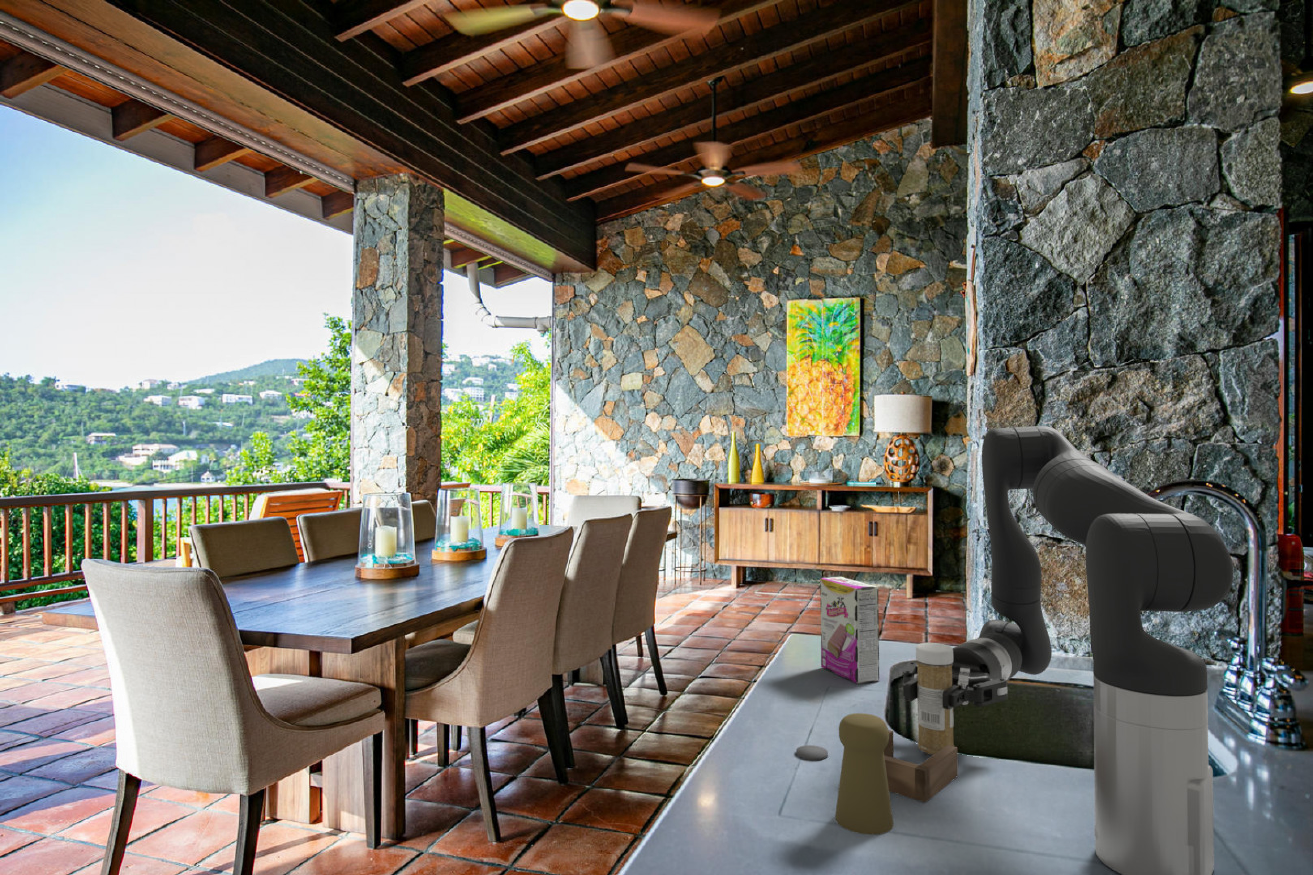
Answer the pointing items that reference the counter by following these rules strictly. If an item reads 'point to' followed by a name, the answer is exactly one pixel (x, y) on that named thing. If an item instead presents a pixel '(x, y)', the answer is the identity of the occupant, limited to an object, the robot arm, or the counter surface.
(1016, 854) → the counter surface
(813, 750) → the disc
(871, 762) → the cork
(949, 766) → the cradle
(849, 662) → the candy bar box
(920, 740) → the spice jar
